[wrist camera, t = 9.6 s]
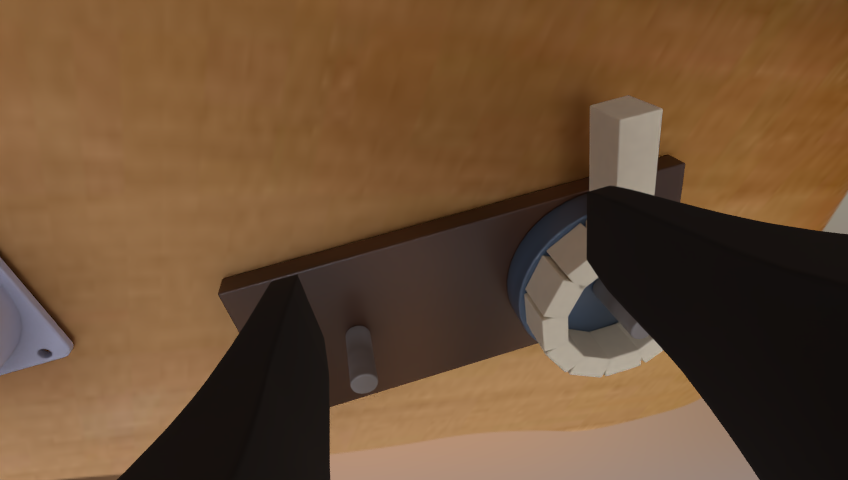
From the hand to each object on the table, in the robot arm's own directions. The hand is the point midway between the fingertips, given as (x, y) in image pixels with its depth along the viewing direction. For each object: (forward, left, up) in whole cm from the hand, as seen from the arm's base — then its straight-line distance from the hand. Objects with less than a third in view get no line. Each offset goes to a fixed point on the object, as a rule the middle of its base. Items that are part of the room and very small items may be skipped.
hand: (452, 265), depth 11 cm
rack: (+2, -8, -10) cm, 13 cm away
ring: (+8, -6, -7) cm, 12 cm away
